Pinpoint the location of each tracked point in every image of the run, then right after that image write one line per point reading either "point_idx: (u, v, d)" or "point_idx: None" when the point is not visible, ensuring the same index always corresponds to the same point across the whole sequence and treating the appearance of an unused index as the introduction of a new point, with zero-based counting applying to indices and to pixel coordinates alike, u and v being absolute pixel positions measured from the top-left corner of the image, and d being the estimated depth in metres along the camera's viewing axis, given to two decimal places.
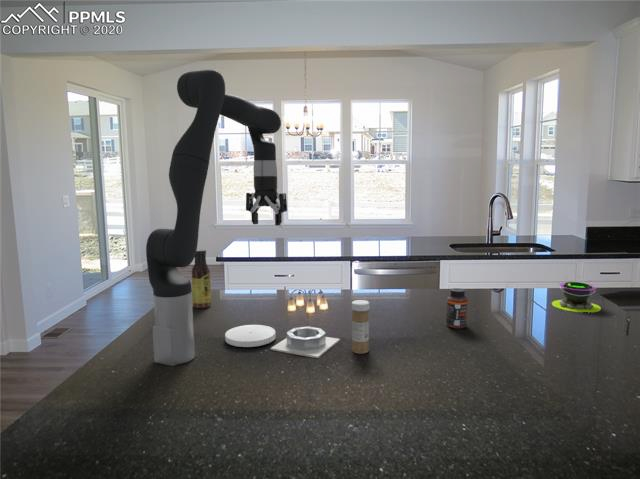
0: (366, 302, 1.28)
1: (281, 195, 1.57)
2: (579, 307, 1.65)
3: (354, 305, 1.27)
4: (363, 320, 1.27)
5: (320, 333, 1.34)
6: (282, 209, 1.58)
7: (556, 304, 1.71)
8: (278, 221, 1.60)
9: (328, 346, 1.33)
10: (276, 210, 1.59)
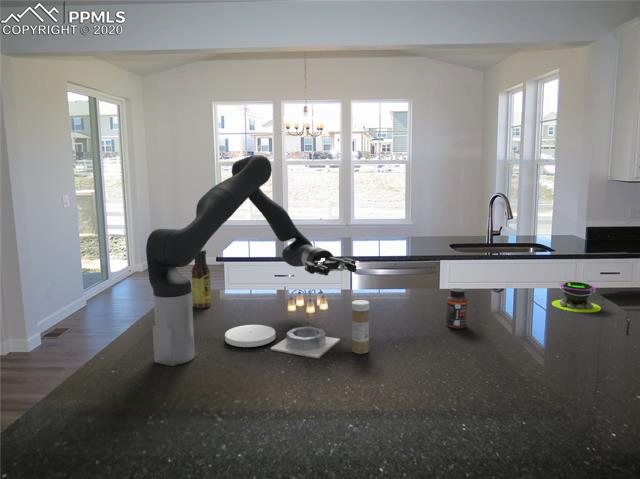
0: (366, 302, 1.28)
1: None
2: (579, 307, 1.66)
3: (354, 305, 1.27)
4: (363, 320, 1.27)
5: (320, 333, 1.34)
6: (353, 260, 1.45)
7: (556, 304, 1.72)
8: (354, 265, 1.41)
9: (328, 346, 1.33)
10: (347, 261, 1.44)
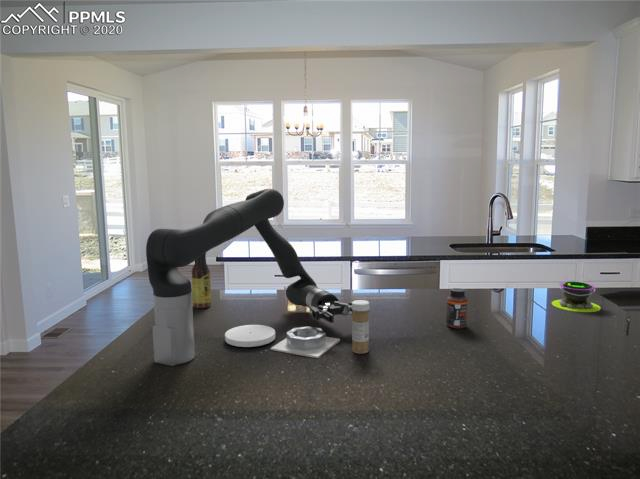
0: (366, 302, 1.28)
1: (350, 301, 1.48)
2: (579, 307, 1.66)
3: (354, 305, 1.27)
4: (363, 320, 1.27)
5: (320, 333, 1.34)
6: None
7: (556, 304, 1.72)
8: None
9: (328, 346, 1.33)
10: None
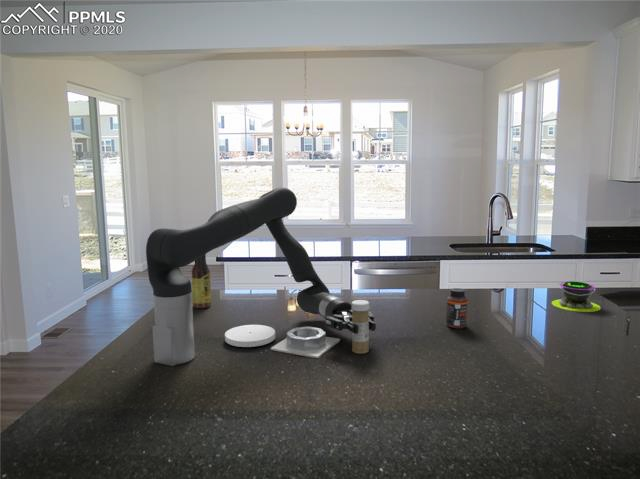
0: (366, 302, 1.28)
1: None
2: (579, 306, 1.66)
3: (353, 305, 1.27)
4: (363, 320, 1.27)
5: (320, 333, 1.34)
6: (372, 315, 1.34)
7: (556, 303, 1.72)
8: (373, 322, 1.30)
9: (328, 346, 1.33)
10: None
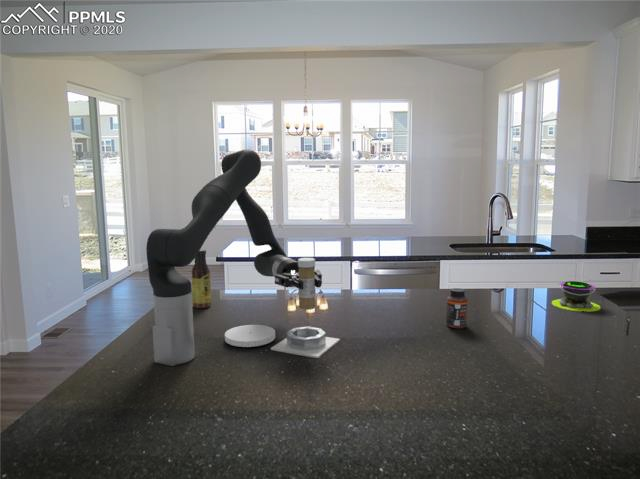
0: (312, 259, 1.31)
1: (318, 270, 1.41)
2: (579, 306, 1.66)
3: (299, 261, 1.30)
4: (308, 277, 1.30)
5: (320, 333, 1.34)
6: (320, 274, 1.36)
7: (556, 303, 1.72)
8: (319, 279, 1.32)
9: (328, 346, 1.33)
10: None
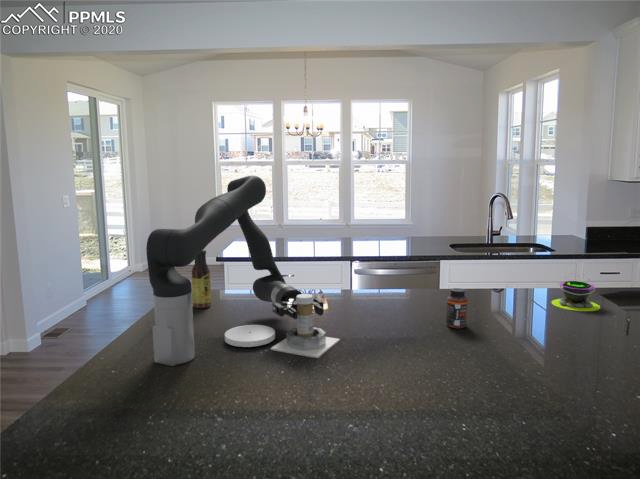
0: (310, 296, 1.33)
1: (316, 297, 1.43)
2: (579, 306, 1.67)
3: (297, 298, 1.32)
4: (307, 313, 1.32)
5: (320, 333, 1.34)
6: (321, 301, 1.39)
7: (556, 303, 1.73)
8: (321, 307, 1.35)
9: (328, 346, 1.33)
10: (315, 302, 1.38)
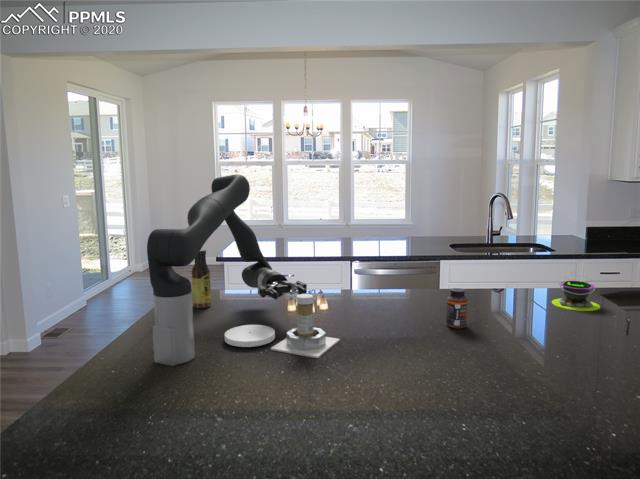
0: (310, 296, 1.33)
1: (298, 281, 1.55)
2: (579, 305, 1.67)
3: (298, 298, 1.32)
4: (307, 313, 1.32)
5: (320, 333, 1.34)
6: (305, 284, 1.51)
7: (556, 303, 1.73)
8: (304, 289, 1.47)
9: (328, 346, 1.33)
10: (298, 285, 1.50)
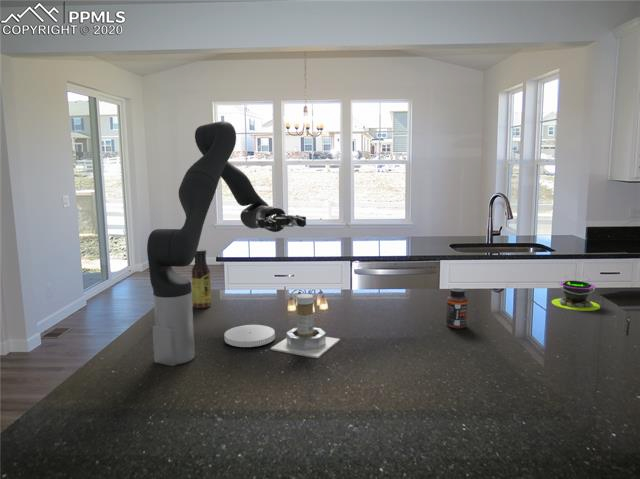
0: (310, 296, 1.33)
1: (298, 215, 1.52)
2: (579, 305, 1.67)
3: (298, 298, 1.32)
4: (307, 313, 1.32)
5: (320, 333, 1.34)
6: None
7: (556, 302, 1.73)
8: (303, 220, 1.44)
9: (328, 346, 1.33)
10: (298, 217, 1.47)
